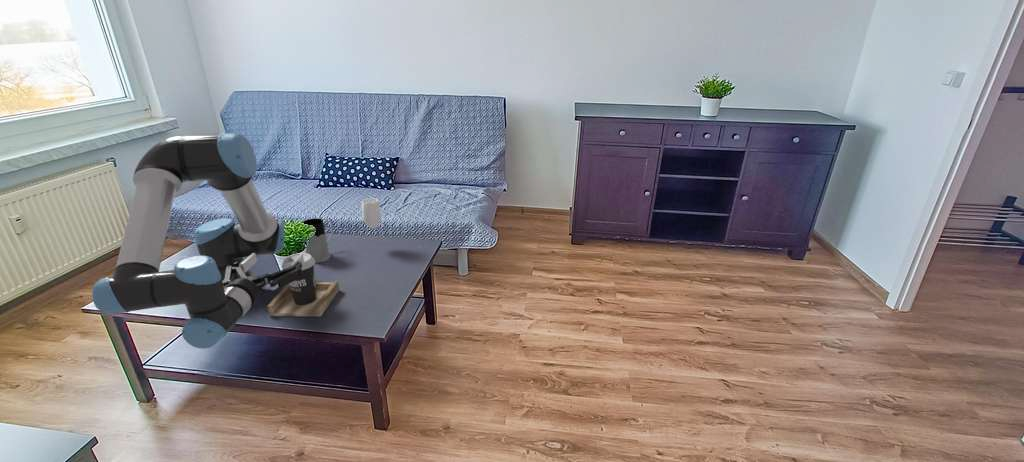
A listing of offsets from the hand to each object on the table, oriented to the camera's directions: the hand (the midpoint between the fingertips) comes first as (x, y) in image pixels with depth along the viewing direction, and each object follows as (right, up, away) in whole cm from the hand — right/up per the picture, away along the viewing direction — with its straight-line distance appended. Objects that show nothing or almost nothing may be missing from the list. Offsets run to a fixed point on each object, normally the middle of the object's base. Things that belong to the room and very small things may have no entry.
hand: (278, 257), depth 132 cm
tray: (0, -16, +18) cm, 24 cm away
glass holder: (-8, -2, +50) cm, 51 cm away
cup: (+11, 0, +56) cm, 57 cm away
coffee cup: (0, -15, +18) cm, 23 cm away
